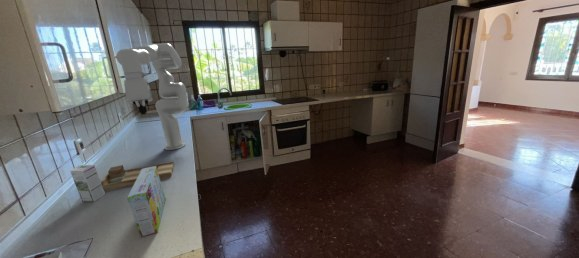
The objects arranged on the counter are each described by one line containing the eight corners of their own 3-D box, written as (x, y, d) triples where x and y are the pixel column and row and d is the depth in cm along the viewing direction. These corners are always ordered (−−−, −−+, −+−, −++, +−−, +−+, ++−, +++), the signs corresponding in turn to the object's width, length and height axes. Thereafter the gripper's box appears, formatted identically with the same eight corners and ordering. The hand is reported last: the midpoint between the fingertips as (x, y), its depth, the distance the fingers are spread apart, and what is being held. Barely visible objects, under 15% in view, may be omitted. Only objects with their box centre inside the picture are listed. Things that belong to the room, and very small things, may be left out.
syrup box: (105, 194, 101) (95, 163, 97) (93, 202, 96) (82, 170, 91) (93, 194, 102) (83, 164, 98) (81, 202, 96) (69, 170, 92)
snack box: (150, 202, 93) (141, 168, 88) (166, 198, 95) (157, 164, 90) (139, 238, 74) (126, 196, 69) (158, 232, 76) (147, 192, 71)
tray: (113, 177, 116) (110, 170, 115) (174, 165, 125) (172, 158, 124) (102, 191, 104) (99, 183, 103) (171, 177, 113) (169, 169, 111)
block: (113, 174, 115) (110, 167, 114) (125, 172, 117) (122, 164, 116) (110, 179, 110) (108, 171, 109) (122, 176, 112) (120, 168, 111)
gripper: (153, 74, 117) (161, 110, 122) (118, 77, 112) (128, 114, 118) (150, 75, 110) (159, 113, 116) (113, 78, 106) (124, 117, 111)
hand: (144, 113), depth 117 cm, fingers closed
